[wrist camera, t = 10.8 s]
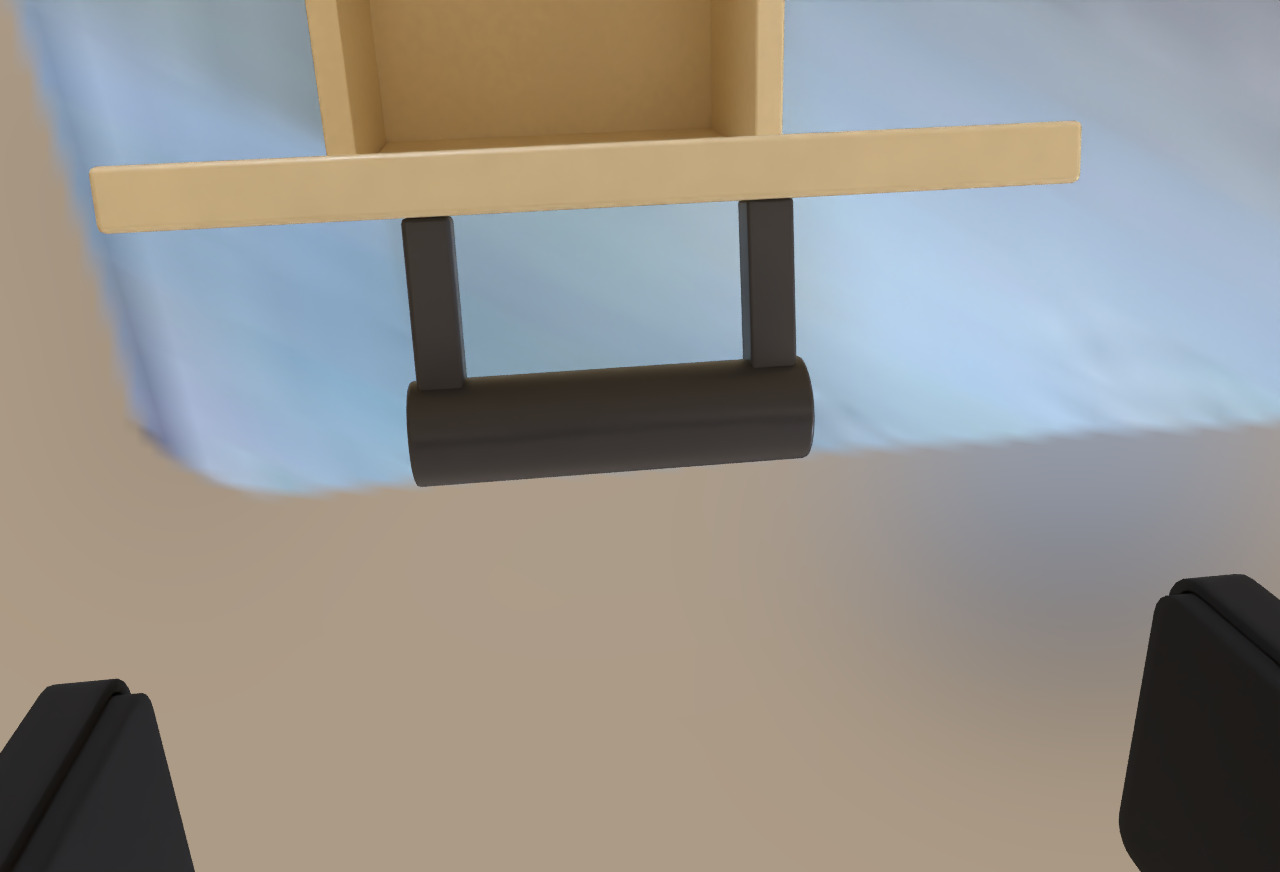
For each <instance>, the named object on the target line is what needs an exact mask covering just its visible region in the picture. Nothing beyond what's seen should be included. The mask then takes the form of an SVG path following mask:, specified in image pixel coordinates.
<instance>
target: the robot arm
mask: <svg viewBox="0 0 1280 872" xmlns="http://www.w3.org/2000/svg"><path fill="white" fill-rule="evenodd" d="M1119 828H1120V834H1121V837H1122V841H1123V844H1124V846H1125V848H1126V851H1127V852H1128V854H1129V856H1130V857H1131V859H1132V860H1133V862H1134V863H1135V864H1136V866H1137V867H1138V869H1139V870H1140V871H1141V872H1280V600H1279V599H1278V598H1276V597H1275V596H1274V595H1273V594H1271V593H1270V592H1269V591H1268V590H1266V589H1265V588H1264V587H1262V586H1261V585H1260V584H1258V583H1257V582H1256V581H1254V580H1253V579H1251V578H1249V577H1248V576H1246V575H1241V574H1232V575H1220V576H1210V577H1199V578H1188V579H1182V580H1180V581H1178V582H1176V583H1175V585H1174V586H1173V587H1172V589H1171V590H1170V594H1169V596H1165V597H1162V598H1160V600H1159V601H1158V603H1157V604H1156V608H1155V611H1154V615H1153V621H1152V627H1151V633H1150V638H1149V645H1148V650H1147V656H1146V662H1145V667H1144V673H1143V679H1142V685H1141V690H1140V696H1139V702H1138V708H1137V714H1136V719H1135V725H1134V731H1133V737H1132V743H1131V748H1130V754H1129V760H1128V766H1127V772H1126V778H1125V783H1124V789H1123V795H1122V800H1121V807H1120V812H1119ZM0 872H195V870H194V866H193V863H192V859H191V855H190V851H189V847H188V844H187V840H186V835H185V831H184V828H183V823H182V819H181V815H180V812H179V808H178V804H177V800H176V796H175V792H174V788H173V784H172V780H171V776H170V772H169V769H168V764H167V760H166V757H165V753H164V749H163V745H162V741H161V737H160V733H159V729H158V725H157V722H156V717H155V713H154V710H153V706H152V703H151V701H150V699H149V698H148V696H147V695H146V694H143V693H139V694H131V693H130V690H129V688H128V687H127V685H126V684H125V682H124V681H122V680H120V679H109V680H99V681H88V682H77V683H67V684H56V685H52V686H49V687H47V688H46V689H45V690H44V691H43V692H42V693H41V694H40V696H39V697H38V698H37V700H36V701H35V703H34V705H33V706H32V707H31V709H30V710H29V712H28V713H27V715H26V716H25V718H24V719H23V721H22V722H21V723H20V725H19V727H18V728H17V730H16V731H15V732H14V734H13V735H12V737H11V738H10V740H9V741H8V743H7V744H6V746H5V747H4V749H3V750H2V752H1V753H0Z"/></svg>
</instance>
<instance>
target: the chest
mask: <svg viewBox="0 0 1280 872" xmlns="http://www.w3.org/2000/svg"><path fill="white" fill-rule="evenodd" d="M305 5H306V12H307V19H308V26H309V33H310V40H311V47H312V54H313V62H314V69H315V76H316V83H317V90H318V97H319V104H320V111H321V118H322V126H323V133H324V140H325V147H326V154H327V156H333V155H354V154H376V153H397V152H418V151H440V150H461V149H482V148H504V147H525V146H546V145H567V144H589V143H610V142H631V141H653V140H674V139H695V138H716V137H738V136H759V135H780V134H782V113H783V59H784V5H785V0H305Z"/></svg>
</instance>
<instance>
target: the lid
mask: <svg viewBox="0 0 1280 872" xmlns="http://www.w3.org/2000/svg"><path fill="white" fill-rule="evenodd" d="M1081 130H1082V127H1081V124H1080V123H1079V122H1076V121H1057V122H1036V123H1014V124H993V125H972V126H951V127H929V128H908V129H887V130H865V131H844V132H823V133H802V134H780V135H759V136H738V137H716V138H695V139H674V140H653V141H631V142H610V143H589V144H567V145H546V146H525V147H504V148H482V149H461V150H440V151H418V152H397V153H376V154H354V155H333V156H312V157H291V158H269V159H248V160H227V161H205V162H184V163H163V164H142V165H120V166H99V167H94V168H92V169H90V173H89V178H90V184H91V190H92V197H93V203H94V209H95V216H96V222H97V227H98V229H99V231H100V232H103V233H106V234H112V233H131V232H150V231H169V230H188V229H207V228H227V227H246V226H265V225H284V224H303V223H322V222H341V221H360V220H379V219H398V218H405V219H403V220H402V223H401V227H402V237H403V248H404V258H405V268H406V279H407V289H408V299H409V309H410V320H411V330H412V340H413V350H414V361H415V371H416V381H413V382H411V383H410V384H409V387H408V391H407V406H406V413H407V434H408V446H409V454H410V462H411V467H412V472H413V476H414V480H415V482H416V484H417V486H420V487H427V486H440V485H453V484H466V483H479V482H493V481H506V480H519V479H532V478H545V477H558V476H571V475H584V474H598V473H611V472H624V471H637V470H650V469H663V468H676V467H690V466H703V465H716V464H729V463H742V462H755V461H768V460H782V459H795V458H803V457H805V456H807V455H808V454H809V452H810V449H811V446H812V442H813V436H814V422H815V415H814V399H813V391H812V385H811V381H810V377H809V373H808V370H807V367H806V365H805V363H804V361H803V360H802V358H800V357H798V356H796V322H795V273H794V224H793V200H792V199H791V198H797V197H816V196H834V195H853V194H872V193H891V192H910V191H929V190H948V189H966V188H985V187H1004V186H1023V185H1042V184H1061V183H1073V182H1075V181H1077V180H1078V179H1079V176H1080V158H1081ZM740 200H741V201H740ZM721 201H739V204H738V210H739V242H740V274H741V306H742V338H743V359H740V360H725V361H710V362H695V363H680V364H665V365H650V366H635V367H620V368H605V369H590V370H575V371H560V372H545V373H530V374H515V375H500V376H485V377H471V378H467V374H466V362H465V351H464V339H463V328H462V316H461V305H460V293H459V282H458V270H457V259H456V248H455V236H454V225H453V220H452V218H451V217H449V216H455V215H474V214H493V213H512V212H531V211H550V210H569V209H588V208H607V207H626V206H645V205H664V204H683V203H702V202H721Z"/></svg>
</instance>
